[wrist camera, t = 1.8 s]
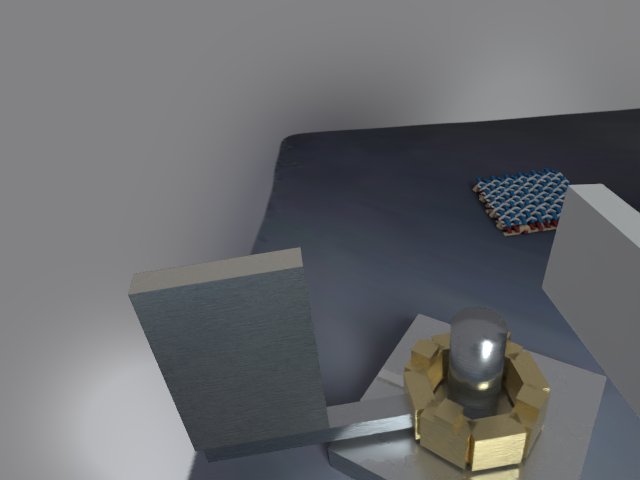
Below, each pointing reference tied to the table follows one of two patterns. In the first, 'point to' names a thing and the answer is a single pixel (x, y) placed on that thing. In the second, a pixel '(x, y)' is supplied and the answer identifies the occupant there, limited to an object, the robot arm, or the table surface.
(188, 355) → the ring nut
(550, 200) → the woven mat
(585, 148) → the table surface
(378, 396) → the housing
